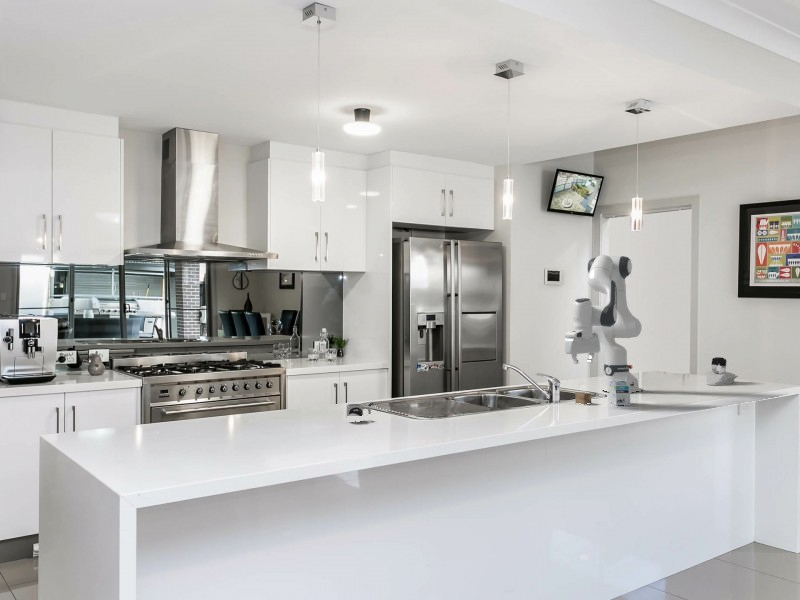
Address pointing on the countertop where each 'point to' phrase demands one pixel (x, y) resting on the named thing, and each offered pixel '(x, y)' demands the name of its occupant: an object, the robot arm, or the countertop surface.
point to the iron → (719, 373)
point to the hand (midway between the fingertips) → (583, 363)
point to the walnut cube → (583, 397)
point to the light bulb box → (620, 392)
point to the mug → (356, 409)
